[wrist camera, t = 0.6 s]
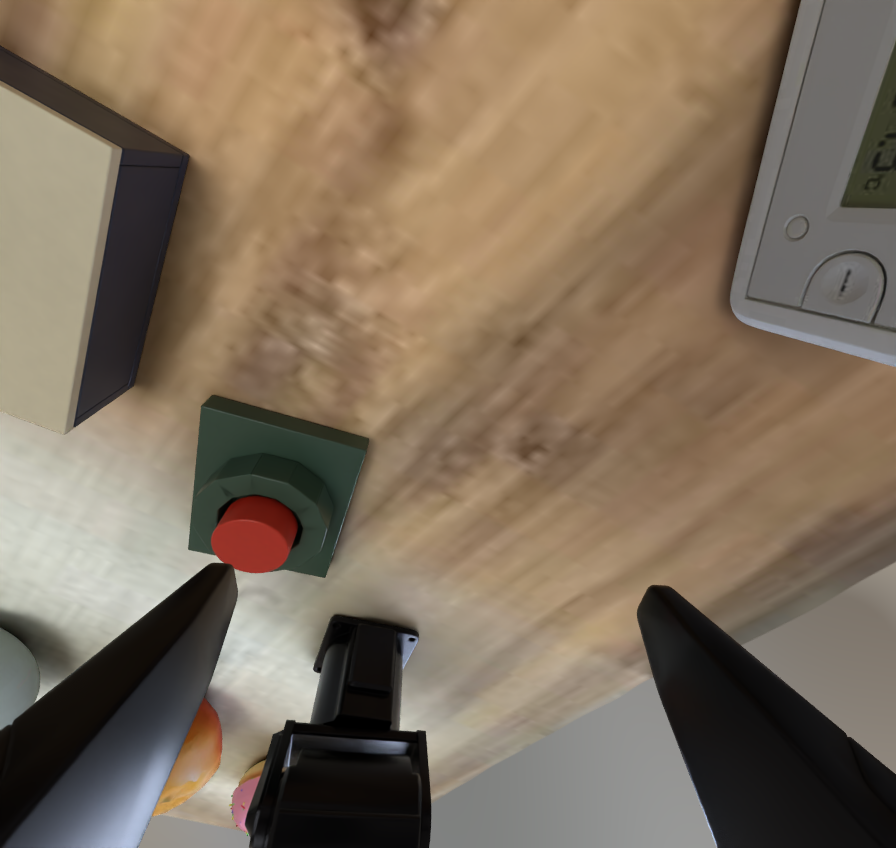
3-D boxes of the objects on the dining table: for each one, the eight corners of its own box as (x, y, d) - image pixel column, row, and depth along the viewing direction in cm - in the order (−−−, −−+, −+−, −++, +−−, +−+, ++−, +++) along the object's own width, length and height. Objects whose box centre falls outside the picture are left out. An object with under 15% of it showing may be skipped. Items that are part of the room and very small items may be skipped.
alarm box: (329, 563, 27) (318, 604, 25) (197, 535, 26) (171, 575, 23) (369, 438, 23) (362, 472, 20) (212, 394, 21) (181, 424, 18)
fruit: (85, 692, 31) (80, 818, 25) (209, 647, 35) (227, 745, 30) (104, 746, 35) (104, 864, 29) (213, 699, 39) (230, 794, 34)
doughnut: (377, 776, 43) (372, 831, 39) (297, 806, 45) (286, 860, 42) (300, 734, 38) (286, 793, 34) (216, 771, 41) (195, 828, 37)
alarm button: (291, 553, 23) (281, 580, 21) (222, 538, 22) (207, 565, 21) (304, 505, 21) (294, 530, 20) (229, 487, 21) (213, 511, 19)
